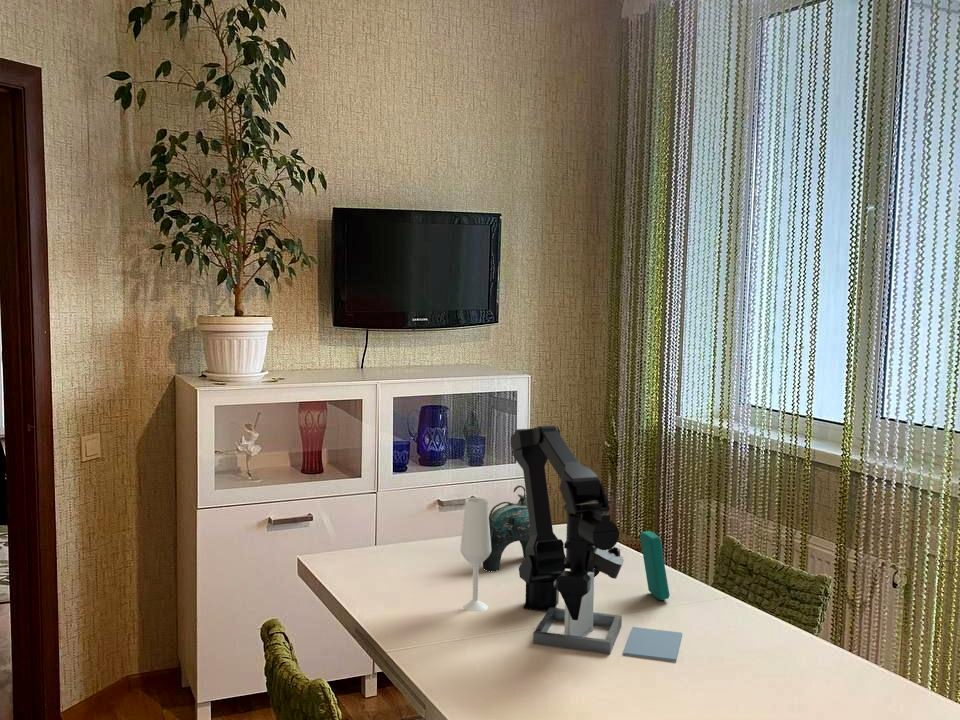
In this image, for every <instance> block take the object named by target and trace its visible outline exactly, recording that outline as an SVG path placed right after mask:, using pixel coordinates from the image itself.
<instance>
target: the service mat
mask: <svg viewBox="0 0 960 720" xmlns="http://www.w3.org/2000/svg"><path fill="white" fill-rule="evenodd" d="M628 636H629V637H628V639H627V641H626V644H625V647H624V649H623V652H622V655H623V656H627V657H635V658H641V659H643V658H644V659H649V660H650V659H651V660H657V661H664V662H665V661H666V662H672V663H677V661H678V655H679V652H680V647H681V642H682V638H683V632H682V631H681V632H680V631H672V630H671V631H670V630H663V629H662V630H661V629H656V628H655V629H653V628H646V627H637V626H633V627H632V628H631V630H630V633H629V635H628Z"/></svg>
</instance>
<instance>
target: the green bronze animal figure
mask: <svg viewBox="0 0 960 720" xmlns="http://www.w3.org/2000/svg"><path fill="white" fill-rule="evenodd" d="M518 488H522V489H523V491H524V492H523V493H524V494H520V493H519V494H517V496H518V497H519V500H518V501H517V502H516V503H513V502H509V501H502V502H500V503H498V504H496V505H495V506H493V507H492V508H491V510H490V512H489V526H490V538H491V553H490V555H489V557H488V558H487V559H486V560H485V561H484V562H483V563H482V570H483V569H485V570H487V571H486V572H488V571H490V572H489V573H492V572H491V571H495V572H497V571H496V570H498V571H500V570H499V569H500V565H501V558H502V557H503V556H502V555H503V553H504V551H505V549H506V548H507V547H508V546H509V545H510V544H512V543H515V542H519V543H520V546H521V548H522V554H523V559H524V558H525V557H526V550H525V549H526V546H527V544H528V541H529V539H530V537H531V529H530V521H529V513H528V505H527V497H526V489H525V486H522V485H516V486H515V487H514V489H513V493H516V490H518ZM503 504H505V505H503ZM502 505H503V506H502ZM499 506H501V507H499ZM496 508H497V509H496ZM485 570H484V571H485Z"/></svg>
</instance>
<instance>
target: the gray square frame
mask: <svg viewBox="0 0 960 720" xmlns="http://www.w3.org/2000/svg"><path fill="white" fill-rule="evenodd" d="M622 618H623V616H622V615H619V614H612V613H604V612H594V611H593V627H594V626H596V627H604V628H609V630H608V633H607V635H606V637H605V639H603V638H596V637H588V636H582V637H580V636H572V635H564V634H563V633H556V632H549V629H550V628H551V626H552V624H553V622H554V621H556V622H564V623H565V608H557V607H555V608H551V607H550V608H549V609H548V611H546V613H545V614H544V616H543V618H542V619H541V620H540V621H539V624H538V625H537V627H536V628H535V630H534V631H533V634H532V636H533V637H532V644H533V645H535V646H536V645H537V646H544V647H551V648H558V649H566V650H574V651H581V652H588V653H595V654H596V653H597V654H603V655H611V653H612V651H613V649H614V646H615V643H616V641H617V639H618V637H619V633H620V632H621V630H622V621H623V620H622Z"/></svg>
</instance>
